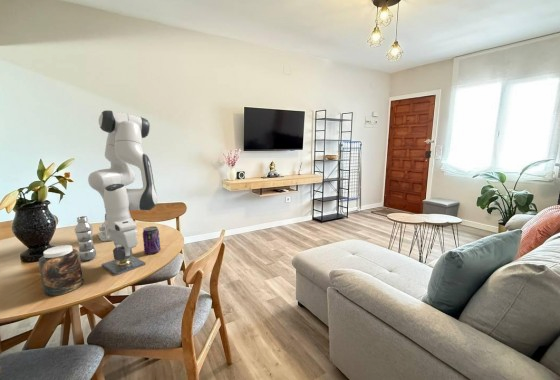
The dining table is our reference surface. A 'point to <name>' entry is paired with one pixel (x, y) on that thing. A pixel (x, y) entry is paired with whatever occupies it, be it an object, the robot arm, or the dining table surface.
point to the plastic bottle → (85, 239)
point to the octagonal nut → (120, 253)
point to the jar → (60, 270)
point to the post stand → (123, 265)
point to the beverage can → (151, 240)
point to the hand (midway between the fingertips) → (123, 253)
